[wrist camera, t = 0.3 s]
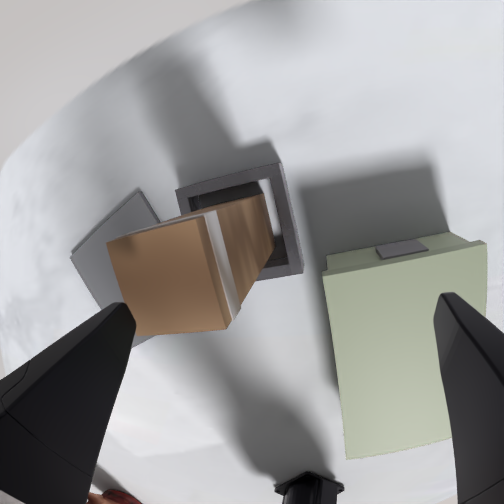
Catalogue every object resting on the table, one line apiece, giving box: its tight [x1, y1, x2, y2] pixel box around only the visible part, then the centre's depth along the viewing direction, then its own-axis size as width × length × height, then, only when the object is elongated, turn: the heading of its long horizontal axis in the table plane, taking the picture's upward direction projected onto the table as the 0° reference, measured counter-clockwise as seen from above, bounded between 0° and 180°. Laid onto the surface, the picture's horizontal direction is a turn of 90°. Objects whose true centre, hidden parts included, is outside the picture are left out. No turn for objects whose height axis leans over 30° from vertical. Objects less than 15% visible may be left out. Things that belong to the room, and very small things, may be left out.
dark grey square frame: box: [175, 163, 304, 281], centre depth 22 cm, size 8×8×2 cm
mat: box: [70, 192, 160, 348], centre depth 26 cm, size 11×11×1 cm
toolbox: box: [322, 232, 487, 460], centre depth 20 cm, size 17×11×6 cm, turn 13°
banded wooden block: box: [106, 193, 276, 336], centre depth 17 cm, size 4×4×13 cm
